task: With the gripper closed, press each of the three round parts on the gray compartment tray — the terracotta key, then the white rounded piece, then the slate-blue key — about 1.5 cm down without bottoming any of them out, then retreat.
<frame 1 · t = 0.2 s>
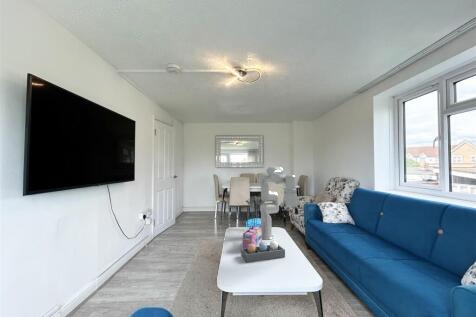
hand: (290, 214, 165), 31 cm above the table, fingers open, 9 cm apart
gum box: (252, 246, 185), on the table
geometric lantern: (255, 230, 230), on the table
terracotta key: (251, 249, 163), point 6 cm above the table, slide at 0.0 cm
white rounded piece: (273, 246, 168), point 7 cm above the table, slide at 0.0 cm
gray compartment tray: (263, 256, 165), on the table
slate-blue key: (262, 247, 165), point 7 cm above the table, slide at 0.0 cm
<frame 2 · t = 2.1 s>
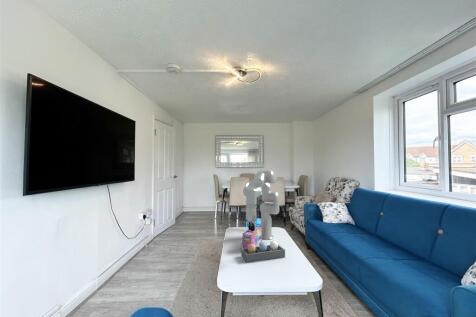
hand: (251, 230, 163), 20 cm above the table, fingers open, 3 cm apart
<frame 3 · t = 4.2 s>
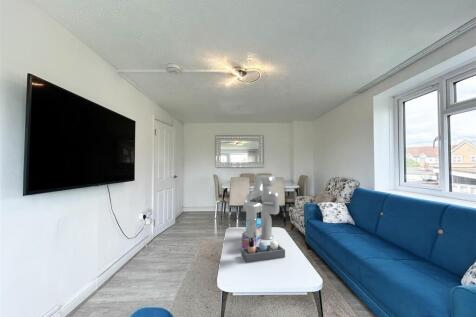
hand: (251, 246, 162), 9 cm above the table, fingers closed
terracotta key: (251, 250, 163), point 5 cm above the table, slide at 1.0 cm, touching gripper
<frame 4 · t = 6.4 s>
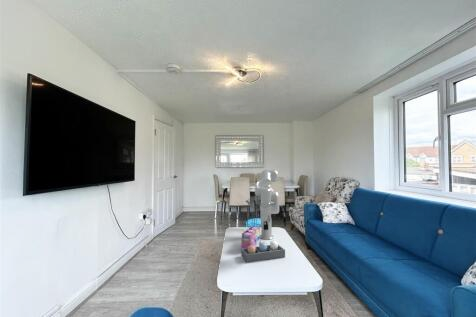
hand: (266, 229, 166), 20 cm above the table, fingers closed
terracotta key: (251, 250, 163), point 5 cm above the table, slide at 1.3 cm
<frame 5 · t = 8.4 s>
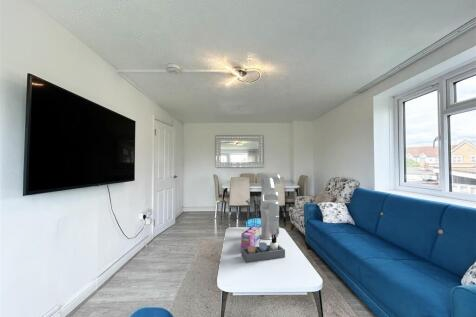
hand: (274, 242, 168), 9 cm above the table, fingers closed
white rounded piece: (273, 246, 168), point 6 cm above the table, slide at 0.2 cm, touching gripper
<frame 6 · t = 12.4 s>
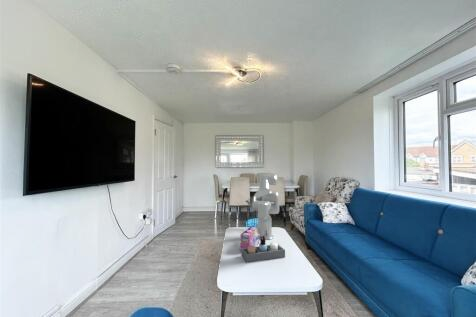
hand: (262, 244, 165), 9 cm above the table, fingers closed
white rounded piece: (274, 248, 168), point 5 cm above the table, slide at 1.3 cm
slate-blue key: (262, 248, 165), point 6 cm above the table, slide at 0.5 cm, touching gripper
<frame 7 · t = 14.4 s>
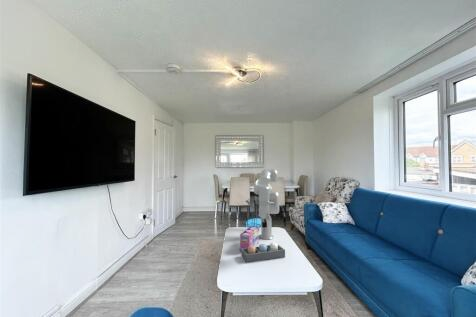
hand: (264, 227, 168), 21 cm above the table, fingers closed
slate-blue key: (262, 249, 165), point 5 cm above the table, slide at 1.3 cm
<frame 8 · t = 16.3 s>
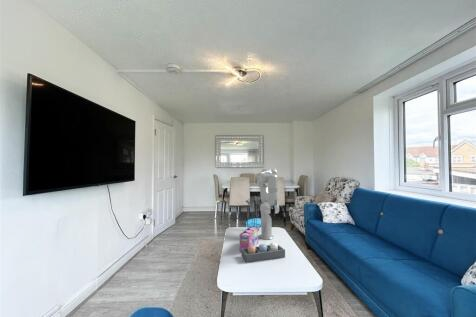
hand: (272, 213, 177), 29 cm above the table, fingers closed
at the end: terracotta key slide at 1.3 cm; white rounded piece slide at 1.3 cm; slate-blue key slide at 1.3 cm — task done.
